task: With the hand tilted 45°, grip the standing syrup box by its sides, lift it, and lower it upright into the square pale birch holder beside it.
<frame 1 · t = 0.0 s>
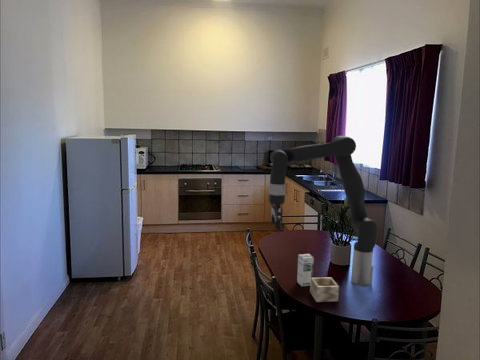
hand: (275, 226, 184), 29 cm above the table, tool pointing down, fingers open, 8 cm apart
holder: (323, 296, 178), on the table
syrup box: (304, 284, 191), on the table
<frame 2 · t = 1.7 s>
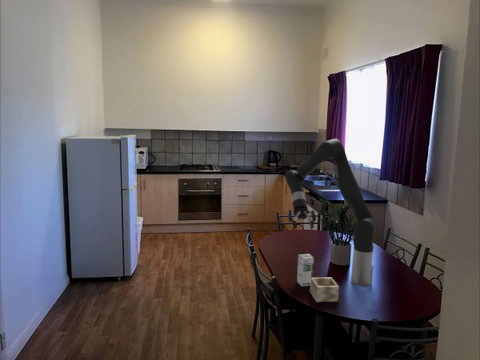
hand: (303, 228, 200), 24 cm above the table, tool tilted 45°, fingers open, 8 cm apart
nothing on the table moved.
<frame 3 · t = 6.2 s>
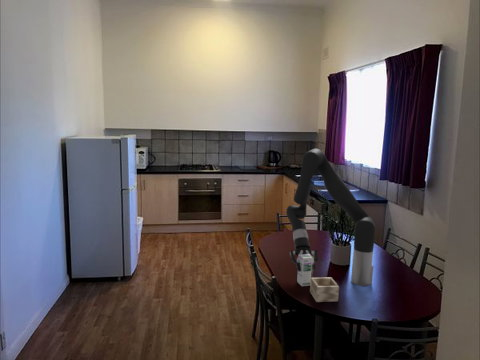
hand: (306, 270, 188), 7 cm above the table, tool tilted 45°, fingers closed on syrup box, 6 cm apart
syrup box: (304, 284, 191), on the table, touching gripper
when the fingers open (10 cm above the table, at t = 12.5 s): syrup box drops 1 cm, resting on holder.
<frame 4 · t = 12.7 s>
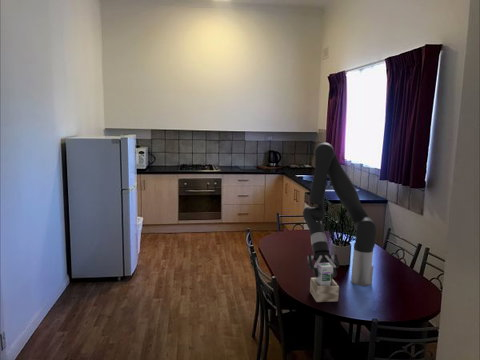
hand: (326, 276, 175), 10 cm above the table, tool tilted 45°, fingers open, 8 cm apart
syrup box: (322, 294, 178), point 1 cm above the table, touching holder
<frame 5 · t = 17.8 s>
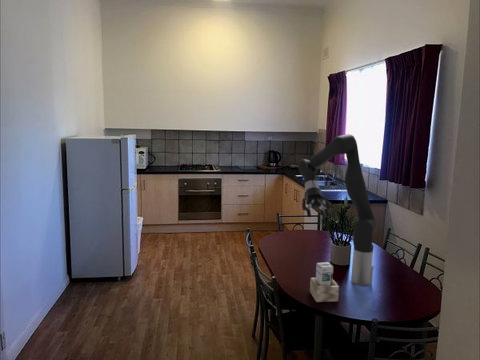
hand: (318, 216, 200), 31 cm above the table, tool tilted 45°, fingers open, 8 cm apart
nothing on the table moved.
at the end: syrup box 0.4 cm off-centre on the holder, point 0.8 cm above the holder's base; syrup box tilted 0°; the gripper is holding nothing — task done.
